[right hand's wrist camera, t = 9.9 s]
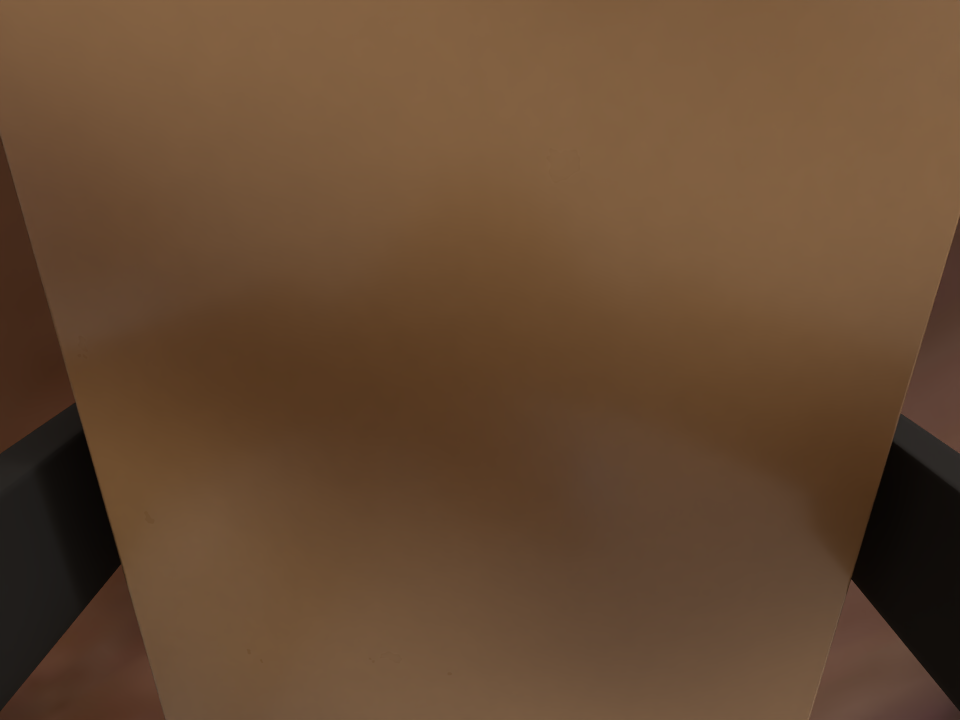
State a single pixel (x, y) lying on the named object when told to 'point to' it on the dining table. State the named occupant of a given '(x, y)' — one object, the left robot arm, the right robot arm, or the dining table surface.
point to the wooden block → (486, 334)
